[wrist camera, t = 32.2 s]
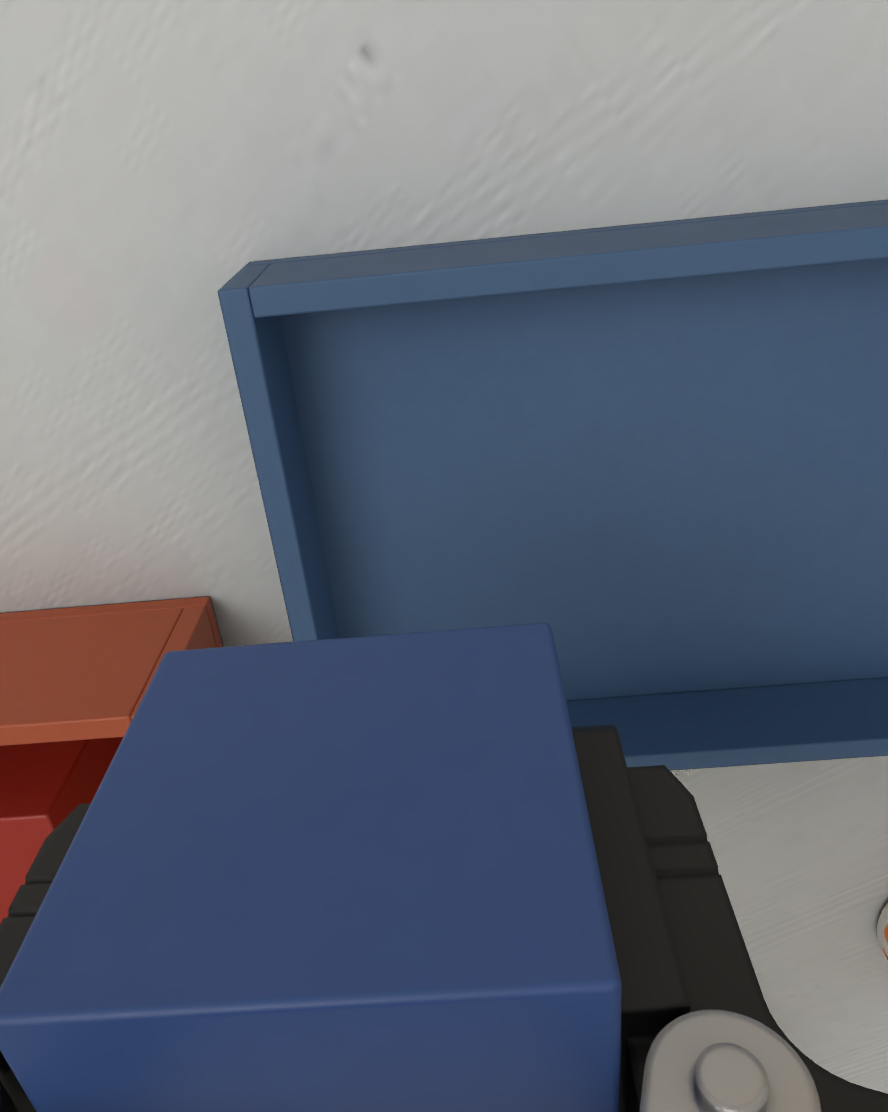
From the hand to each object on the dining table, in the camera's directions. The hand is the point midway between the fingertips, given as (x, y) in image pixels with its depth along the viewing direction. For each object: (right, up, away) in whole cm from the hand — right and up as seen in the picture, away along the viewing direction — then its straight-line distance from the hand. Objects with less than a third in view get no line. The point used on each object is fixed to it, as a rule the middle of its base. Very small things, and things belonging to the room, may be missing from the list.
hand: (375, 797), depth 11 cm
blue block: (0, 0, 0) cm, 0 cm away
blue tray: (+13, +5, +11) cm, 17 cm away
